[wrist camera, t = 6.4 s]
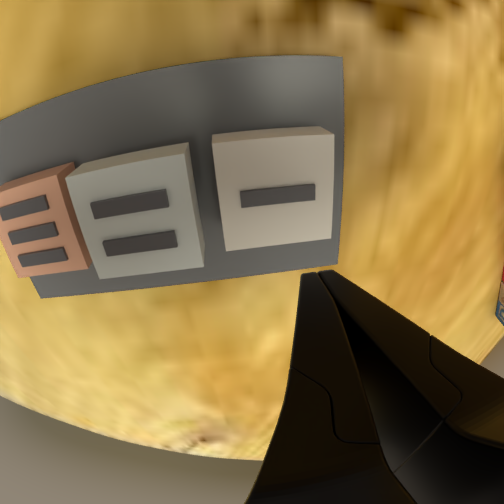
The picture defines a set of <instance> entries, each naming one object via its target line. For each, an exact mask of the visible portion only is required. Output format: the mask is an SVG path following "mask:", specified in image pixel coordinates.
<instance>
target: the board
mask: <svg viewBox="0 0 504 504" xmlns="http://www.w3.org/2000/svg"><path fill="white" fill-rule="evenodd" d="M310 126H320V127H322V128H324V129H326V130H327V131H329V132H331V133H333V134H334V189H333V214H332V233H331V239H323V240H314V241H306V242H298V243H290V244H282V245H274V246H265V247H257V248H249V249H241V250H233V251H226V248H225V241H224V234H223V227H222V219H221V212H220V204H219V197H218V189H217V182H216V174H215V166H214V158H213V150H212V135H213V134H221V133H230V132H239V131H250V130H261V129H274V128H289V127H310ZM187 142H189V149H190V156H191V162H192V169H193V176H194V182H195V188H196V195H197V201H198V207H199V213H200V219H201V225H202V230H203V236H204V242H205V251H204V267H199V268H191V269H183V270H175V271H166V272H158V273H150V274H141V275H133V276H124V277H115V278H107V279H99V276H98V274H97V271H96V269H95V266H94V264H93V261H92V263H91V265H90V267H89V269H84V270H76V271H68V272H61V273H53V274H45V275H38V276H30V278H31V280H32V282H33V284H34V286H35V288H36V290H37V292H38V294H39V296H40V298H52V297H63V296H74V295H85V294H95V293H105V292H115V291H125V290H134V289H144V288H153V287H162V286H171V285H180V284H188V283H197V282H205V281H214V280H222V279H230V278H238V277H246V276H254V275H262V274H269V273H277V272H285V271H292V270H299V269H307V268H314V267H321V266H328V265H335V264H338V253H339V241H340V228H341V212H342V194H343V169H344V79H343V57H337V56H310V55H284V56H257V57H242V58H230V59H220V60H211V61H203V62H196V63H189V64H183V65H177V66H171V67H165V68H160V69H155V70H150V71H145V72H141V73H136V74H132V75H128V76H124V77H120V78H116V79H112V80H109V81H105V82H102V83H98V84H95V85H91V86H88V87H85V88H82V89H79V90H76V91H73V92H70V93H67V94H64V95H61V96H58V97H55V98H53V99H50V100H47V101H45V102H42V103H40V104H37V105H35V106H32V107H30V108H28V109H25V110H23V111H21V112H18V113H16V114H14V115H12V116H10V117H7V118H5V119H3V120H1V121H0V186H1V185H3V184H4V183H6V182H9V181H12V180H15V179H18V178H21V177H24V176H27V175H30V174H33V173H36V172H40V171H43V170H46V169H50V168H53V167H56V166H60V165H63V164H67V163H71V162H74V166H75V169H76V168H78V167H79V166H80V165H81V164H83V163H86V162H90V161H94V160H99V159H103V158H107V157H112V156H116V155H121V154H126V153H131V152H136V151H141V150H146V149H151V148H157V147H162V146H168V145H174V144H181V143H187Z"/></svg>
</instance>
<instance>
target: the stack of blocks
mask: <svg viewBox="0 0 504 504" xmlns="http://www.w3.org/2000/svg"><path fill="white" fill-rule="evenodd" d="M496 317H497V318H498V319H499V321H500V322H501V323H502V324H503V326H504V268H503V276H502V282H501V287H500V294H499V300H498V305H497V310H496Z"/></svg>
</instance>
